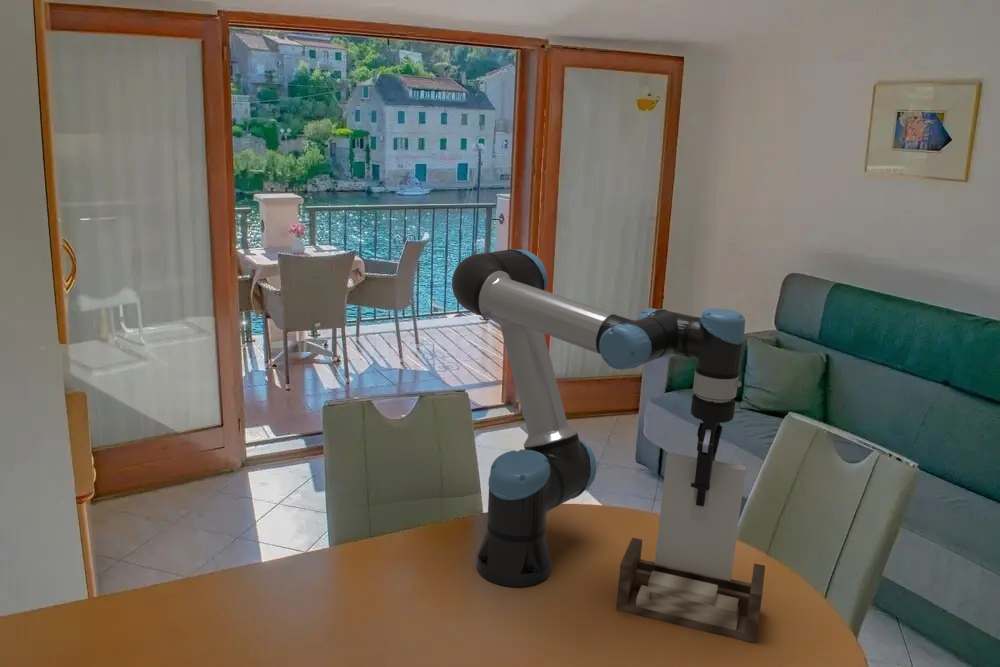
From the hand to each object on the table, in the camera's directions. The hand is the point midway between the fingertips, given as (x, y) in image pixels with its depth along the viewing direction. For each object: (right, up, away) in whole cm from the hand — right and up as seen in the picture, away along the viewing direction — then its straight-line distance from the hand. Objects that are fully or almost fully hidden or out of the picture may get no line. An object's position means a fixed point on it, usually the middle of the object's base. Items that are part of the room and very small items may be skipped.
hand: (699, 516), depth 152 cm
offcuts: (-3, -17, -1) cm, 17 cm away
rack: (-2, -18, +2) cm, 18 cm away
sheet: (-1, -11, +3) cm, 11 cm away
